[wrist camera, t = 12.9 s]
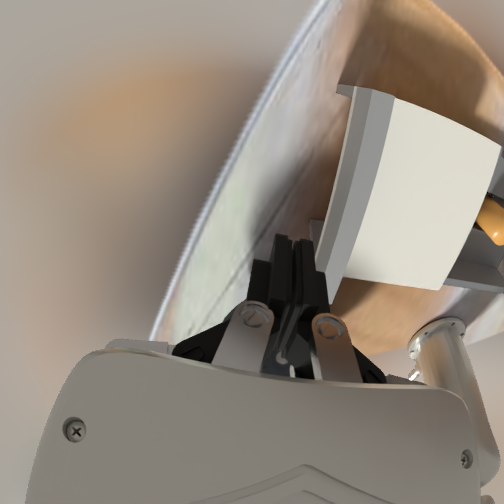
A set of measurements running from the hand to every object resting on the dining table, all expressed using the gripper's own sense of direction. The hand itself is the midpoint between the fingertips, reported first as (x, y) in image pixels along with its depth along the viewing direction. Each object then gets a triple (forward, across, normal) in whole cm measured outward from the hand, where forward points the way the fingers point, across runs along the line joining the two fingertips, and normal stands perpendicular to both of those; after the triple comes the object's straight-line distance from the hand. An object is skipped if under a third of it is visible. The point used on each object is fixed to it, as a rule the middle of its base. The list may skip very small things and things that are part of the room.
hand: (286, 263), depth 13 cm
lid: (+12, -11, 0) cm, 16 cm away
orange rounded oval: (+19, -26, -1) cm, 33 cm away
